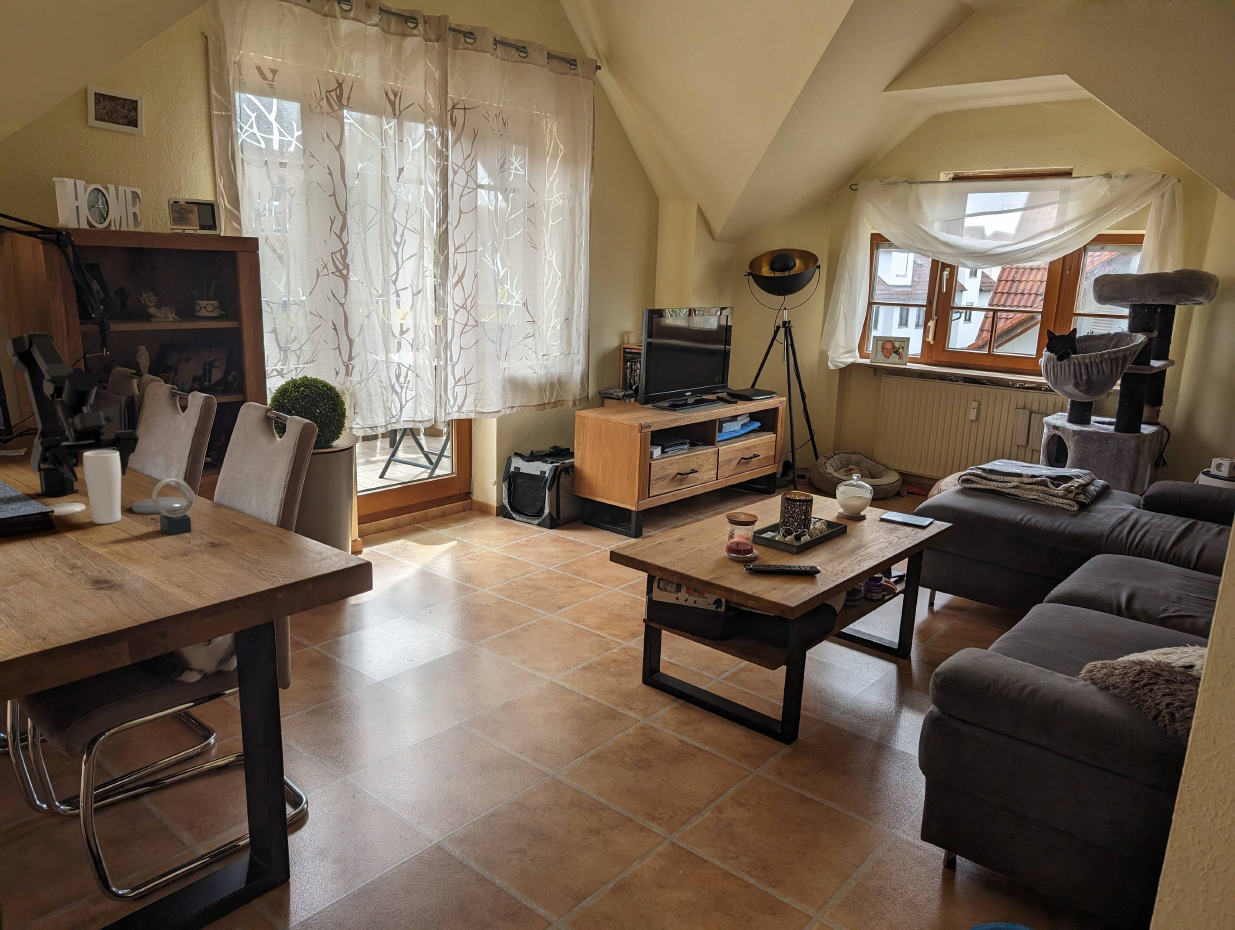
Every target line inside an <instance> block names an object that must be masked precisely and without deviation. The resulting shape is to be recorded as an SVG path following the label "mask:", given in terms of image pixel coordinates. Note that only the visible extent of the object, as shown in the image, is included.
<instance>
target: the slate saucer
mask: <svg viewBox="0 0 1235 930" xmlns="http://www.w3.org/2000/svg"><path fill="white" fill-rule="evenodd" d="M157 497H158V501H159V503H160V505H161V506H162V508H163V509H164V510H166V512H167V513H168V514H170V513H175V512H178V511H183V510H184V509H185V508H187V507H186V506H187V505H188V503H187V498H185V497H184V498H183V497H177V496H157ZM131 509H132V512H133V513H136V514H141V515H158V514H159V515H162V513H161V512H159V510H158V509H157V508H156V507H155V505H154V503H153V501H152V497H150V498H145V499H139V500H137V501H134V502H132V504H131Z"/></svg>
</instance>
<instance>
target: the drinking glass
mask: <svg viewBox="0 0 1235 930" xmlns="http://www.w3.org/2000/svg"><path fill="white" fill-rule="evenodd" d="M82 462H83V463H82V465H83V466H82V467H83V476H84V480H85V486H86V490H87V494H88V500H89V504H90V511H91V518H92V522H93V523H95V524H97V525H98V524H99V525H106V524H107V525H109V524H116V523H117V522H119V521H121V519H122V510H121V509H122V507H121V506H122V504H121V503H122V501H121V500H122V498H121V497H122V474H121V464H120V456H119V452H118V451H116V450H113V449H100V450H91V451H84V452H83V453H82Z"/></svg>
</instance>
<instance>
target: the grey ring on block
mask: <svg viewBox="0 0 1235 930" xmlns="http://www.w3.org/2000/svg"><path fill="white" fill-rule="evenodd" d="M169 483H175V486H176V488H177V490H178V491H179V492H180V494H182V495H183V496H184V498H185V499H186V500H187V501H188V503H187V506H186V508H184V509H182V510H180V511H179V512H178V511H176V512H169V513H167V512H166V510H164V509H163V508H162V506H161V505H160V503H159V501H158V497H159V496H157V494H158V492H159V490H160V489H162V487H163V486H165V485H166V484H169ZM196 497H197V496H196V493H194V491H193V489H192V488H191V486H189V485H188V484H187V483H186V481H185V480H183V479H182V478H179V479H177V478H175V477H168V478H164V479H162V480H161V481H159V482H158V483H156V485H155V486H154V487H153V489H152V492H151V498H152V501H153V503H154V505H155V507H156V508H157V509H158V510H159V512H161V514H159V524H160V525H159V526H160V530H161V531H162V532H163V533H164V534H166V535H167V536H174V535H179V534H187V533H192V520H191V516H189V515H187V514H188V513H190V512H191V510H192V509H193V508H194V505H195V503H196V500H195V499H196Z"/></svg>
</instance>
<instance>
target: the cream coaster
mask: <svg viewBox="0 0 1235 930" xmlns="http://www.w3.org/2000/svg"><path fill="white" fill-rule="evenodd" d="M46 507H50V508H52V509H54V515H53V516H55V515H56V516H67V515H75V514H78V513H82V512H84V511H86V508H87V507H86V504H84V503H80V502H63V503H56V504H50V505H47V506H46Z"/></svg>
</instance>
